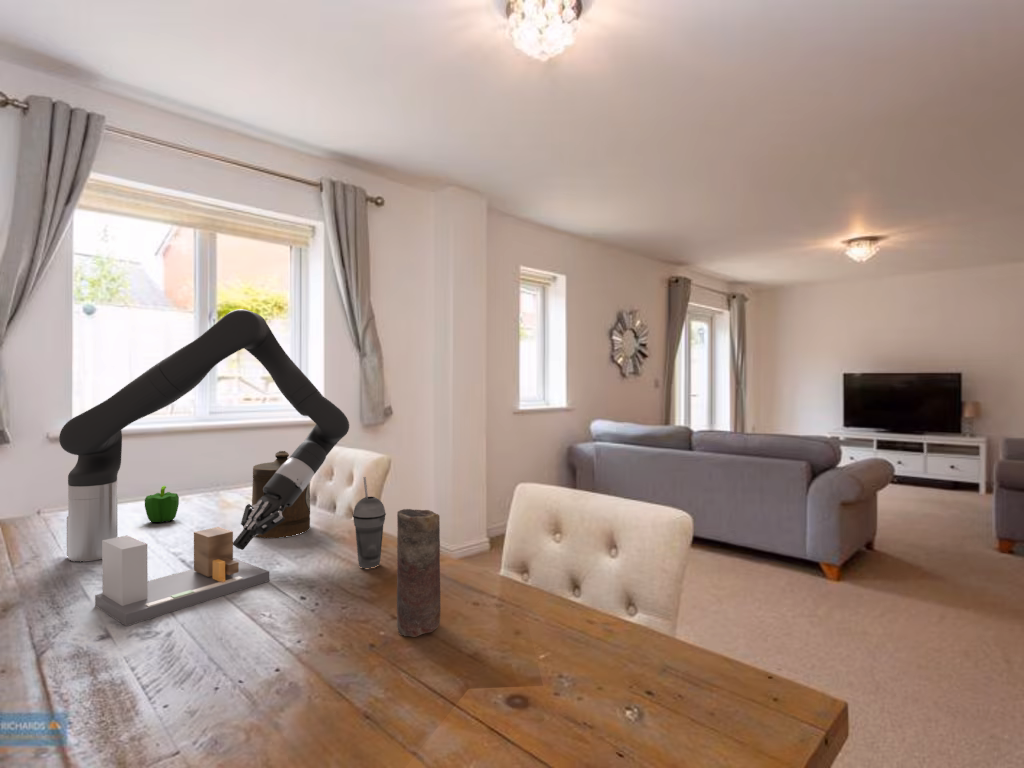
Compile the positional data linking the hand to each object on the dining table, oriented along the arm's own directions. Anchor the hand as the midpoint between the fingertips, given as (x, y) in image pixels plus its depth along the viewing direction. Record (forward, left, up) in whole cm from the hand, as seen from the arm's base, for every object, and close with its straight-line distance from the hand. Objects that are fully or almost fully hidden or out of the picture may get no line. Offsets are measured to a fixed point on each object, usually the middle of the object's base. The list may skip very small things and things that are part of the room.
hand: (237, 547), depth 119 cm
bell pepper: (-55, +25, -6) cm, 61 cm away
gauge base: (-1, -11, -6) cm, 13 cm away
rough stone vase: (+49, -8, -6) cm, 50 cm away
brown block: (+1, -6, -3) cm, 7 cm away
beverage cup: (+23, +15, -6) cm, 28 cm away
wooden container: (-16, +30, -6) cm, 34 cm away
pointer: (+5, -9, -3) cm, 10 cm away
